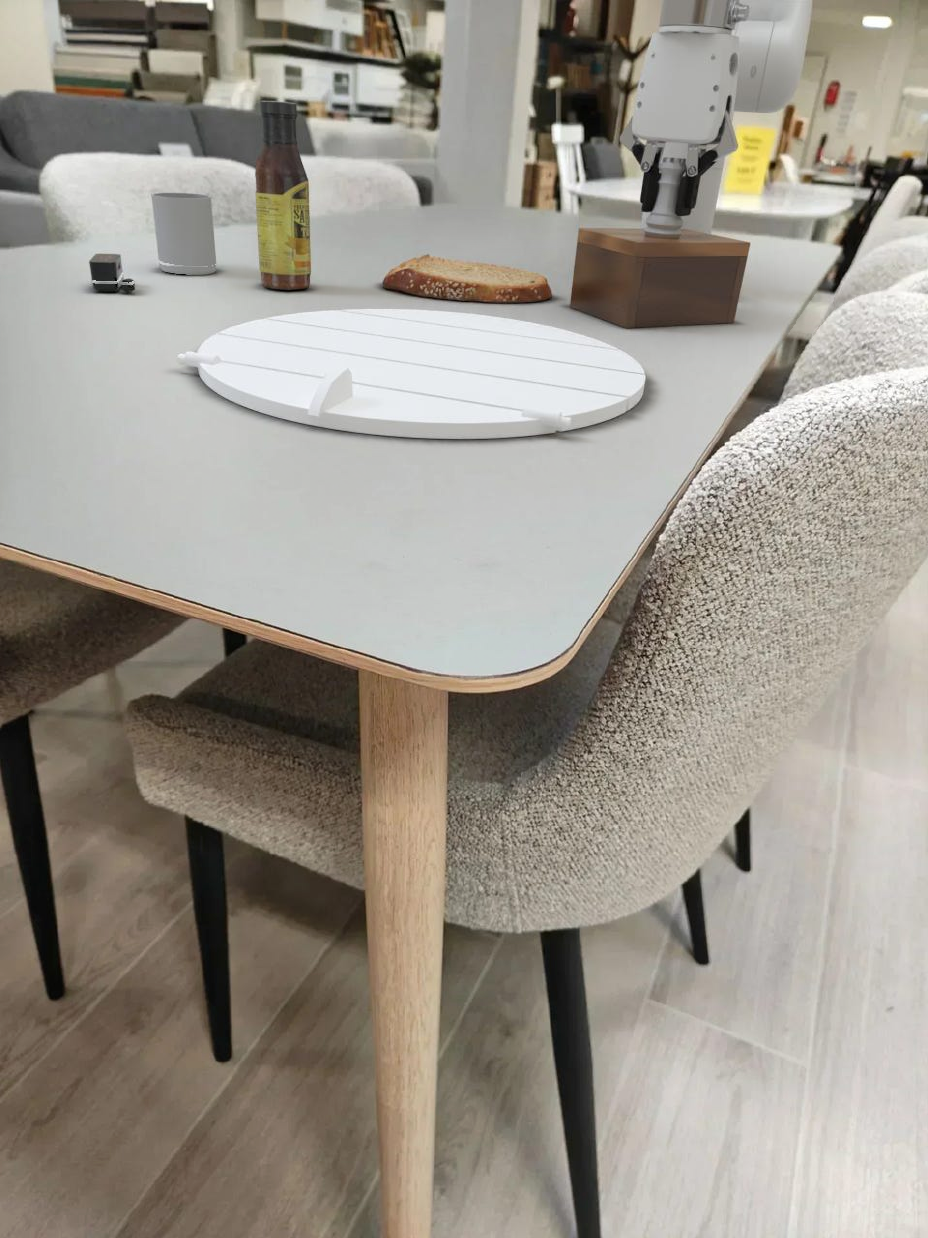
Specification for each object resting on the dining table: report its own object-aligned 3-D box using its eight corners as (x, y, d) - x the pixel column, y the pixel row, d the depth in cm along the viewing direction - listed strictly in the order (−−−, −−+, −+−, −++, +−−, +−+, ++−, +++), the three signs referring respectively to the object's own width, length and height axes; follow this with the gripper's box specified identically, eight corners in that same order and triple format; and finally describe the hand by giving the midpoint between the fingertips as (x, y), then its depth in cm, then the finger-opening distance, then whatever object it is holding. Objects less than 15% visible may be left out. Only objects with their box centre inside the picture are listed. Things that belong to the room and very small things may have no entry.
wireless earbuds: (91, 293, 96) (87, 262, 95) (100, 282, 102) (96, 253, 101) (135, 294, 97) (131, 264, 96) (141, 283, 103) (137, 254, 102)
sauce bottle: (307, 293, 104) (300, 102, 94) (255, 289, 104) (243, 98, 94) (315, 284, 110) (310, 103, 100) (266, 281, 110) (256, 99, 100)
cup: (155, 274, 109) (145, 196, 105) (169, 262, 118) (161, 189, 113) (213, 276, 110) (206, 199, 106) (223, 264, 119) (217, 192, 114)
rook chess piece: (681, 239, 97) (695, 160, 93) (642, 236, 98) (654, 157, 94) (681, 235, 101) (694, 158, 97) (643, 232, 102) (654, 155, 98)
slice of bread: (563, 299, 111) (567, 268, 109) (456, 310, 100) (458, 276, 98) (473, 276, 122) (474, 248, 120) (368, 284, 112) (368, 253, 110)
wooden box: (569, 306, 107) (578, 227, 102) (672, 303, 113) (685, 228, 109) (625, 328, 97) (638, 242, 93) (734, 322, 104) (750, 242, 99)
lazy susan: (583, 479, 55) (590, 428, 54) (86, 388, 66) (79, 342, 64) (673, 352, 88) (680, 317, 86) (332, 305, 99) (331, 273, 97)
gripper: (786, 23, 88) (746, 219, 97) (638, 22, 96) (614, 204, 105) (764, 14, 83) (724, 223, 92) (609, 14, 90) (586, 207, 99)
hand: (665, 211), depth 98 cm, fingers closed on rook chess piece, 3 cm apart
